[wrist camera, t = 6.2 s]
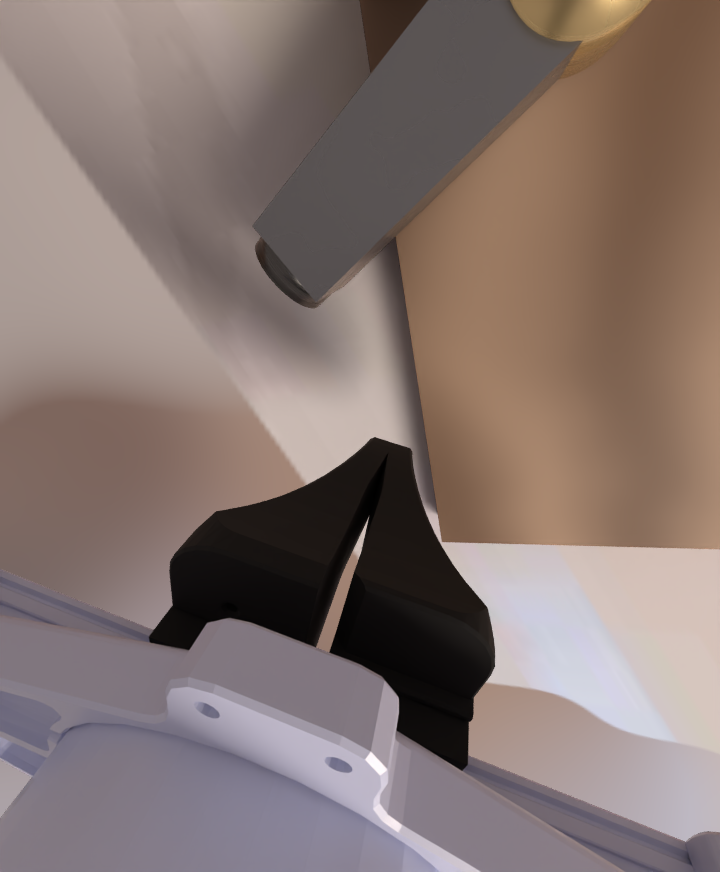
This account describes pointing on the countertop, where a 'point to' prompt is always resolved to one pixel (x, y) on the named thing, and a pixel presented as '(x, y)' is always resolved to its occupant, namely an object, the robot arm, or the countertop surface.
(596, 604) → the countertop surface
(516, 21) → the gold-capped grey rod
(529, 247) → the wooden board
